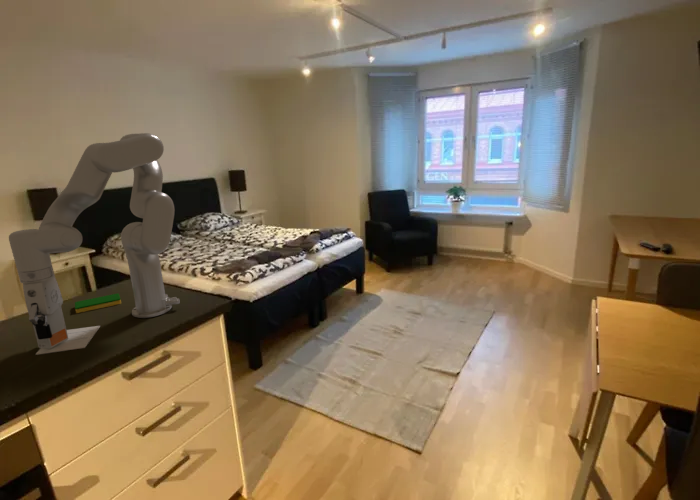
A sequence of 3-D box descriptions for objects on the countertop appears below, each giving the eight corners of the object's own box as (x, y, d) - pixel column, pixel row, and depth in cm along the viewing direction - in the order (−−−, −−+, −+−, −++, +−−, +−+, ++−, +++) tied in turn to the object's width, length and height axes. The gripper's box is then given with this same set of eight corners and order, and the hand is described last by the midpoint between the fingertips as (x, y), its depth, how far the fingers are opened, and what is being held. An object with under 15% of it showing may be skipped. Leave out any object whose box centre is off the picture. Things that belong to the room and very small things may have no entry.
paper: (100, 326, 122) (100, 325, 122) (85, 347, 109) (84, 346, 109) (56, 332, 119) (56, 331, 119) (35, 354, 106) (35, 353, 106)
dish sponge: (76, 307, 138) (74, 301, 138) (119, 298, 146) (118, 292, 145) (76, 314, 133) (74, 308, 132) (121, 304, 140) (120, 298, 140)
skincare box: (50, 349, 107) (40, 310, 104) (38, 348, 108) (27, 309, 105) (69, 338, 113) (60, 301, 110) (58, 337, 114) (48, 300, 111)
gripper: (38, 282, 98) (54, 344, 103) (65, 263, 114) (77, 317, 119) (2, 286, 96) (20, 349, 101) (35, 266, 112) (49, 321, 117)
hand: (51, 331), depth 110 cm, fingers closed on skincare box, 7 cm apart
